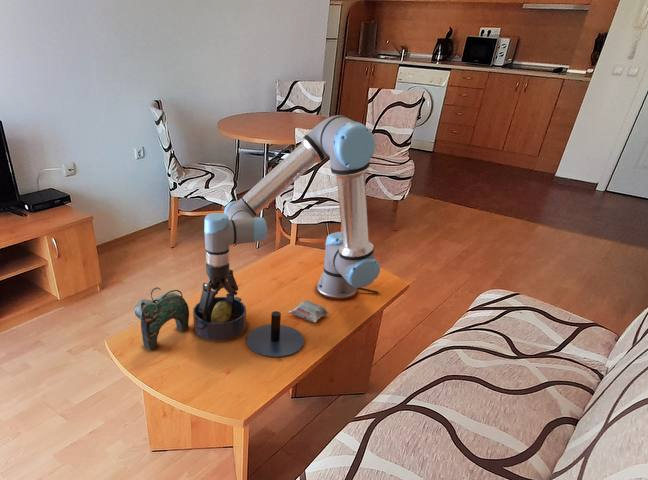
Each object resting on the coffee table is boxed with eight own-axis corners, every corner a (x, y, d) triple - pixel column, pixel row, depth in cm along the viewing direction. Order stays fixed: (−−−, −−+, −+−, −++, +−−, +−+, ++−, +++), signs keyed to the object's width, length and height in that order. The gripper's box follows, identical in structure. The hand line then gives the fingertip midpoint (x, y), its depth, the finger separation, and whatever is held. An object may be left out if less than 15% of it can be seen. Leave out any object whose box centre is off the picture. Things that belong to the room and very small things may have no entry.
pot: (259, 319, 179) (260, 302, 175) (222, 351, 163) (221, 333, 159) (218, 305, 187) (218, 289, 183) (179, 334, 171) (177, 317, 167)
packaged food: (315, 328, 174) (316, 315, 171) (287, 316, 180) (288, 304, 177) (328, 318, 179) (330, 306, 176) (301, 307, 185) (302, 295, 182)
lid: (313, 337, 169) (316, 309, 162) (285, 366, 156) (287, 336, 149) (265, 321, 177) (266, 293, 171) (235, 347, 165) (234, 318, 158)
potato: (199, 331, 172) (198, 311, 167) (221, 315, 181) (220, 295, 176) (218, 338, 168) (218, 318, 164) (240, 321, 177) (239, 301, 172)
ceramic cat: (148, 354, 162) (140, 300, 150) (136, 346, 166) (127, 293, 154) (193, 329, 174) (189, 277, 162) (181, 322, 177) (176, 271, 166)
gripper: (230, 246, 171) (230, 301, 183) (184, 274, 154) (188, 332, 166) (248, 251, 167) (248, 307, 180) (203, 280, 150) (206, 339, 163)
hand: (219, 319), depth 173 cm, fingers closed on potato, 13 cm apart
